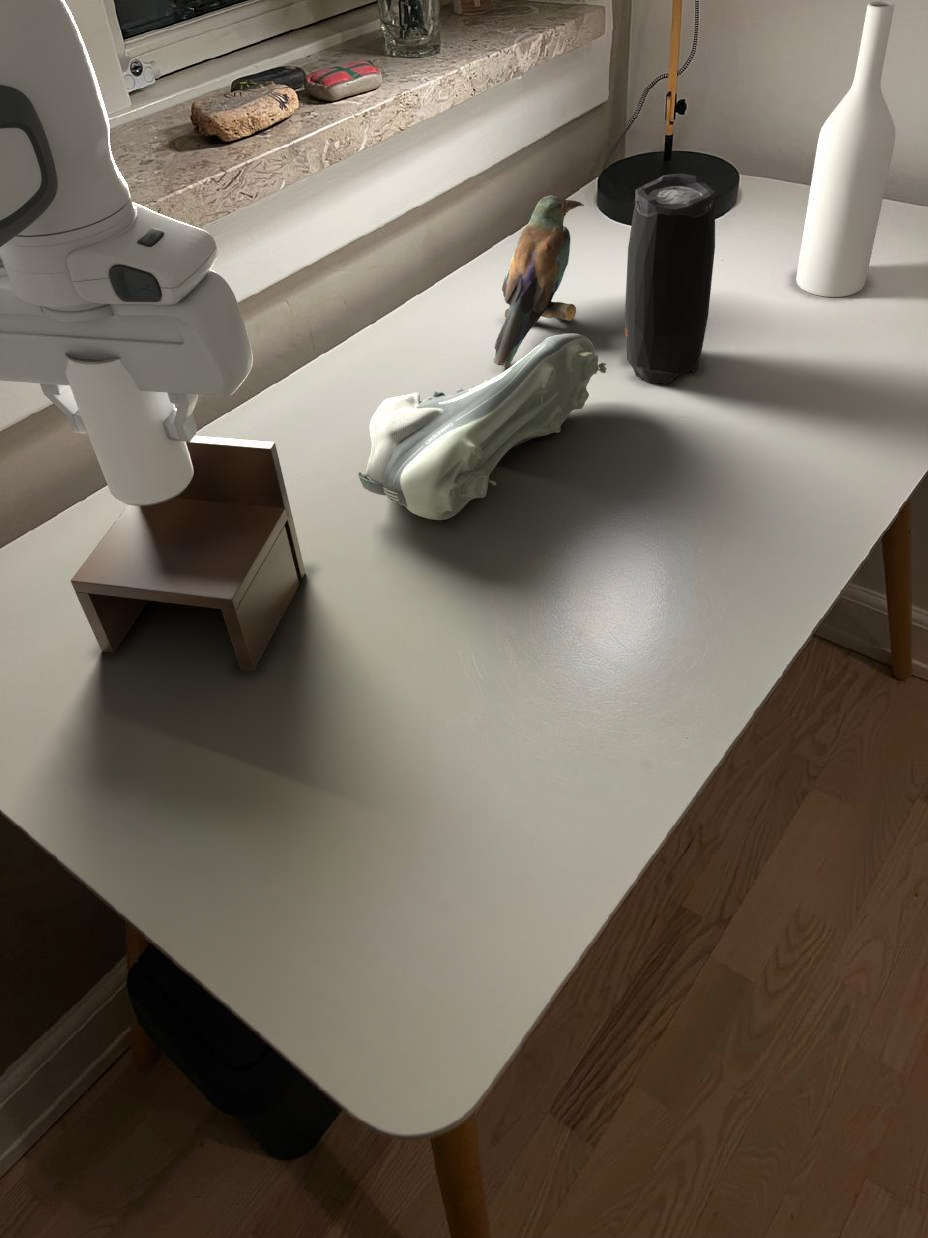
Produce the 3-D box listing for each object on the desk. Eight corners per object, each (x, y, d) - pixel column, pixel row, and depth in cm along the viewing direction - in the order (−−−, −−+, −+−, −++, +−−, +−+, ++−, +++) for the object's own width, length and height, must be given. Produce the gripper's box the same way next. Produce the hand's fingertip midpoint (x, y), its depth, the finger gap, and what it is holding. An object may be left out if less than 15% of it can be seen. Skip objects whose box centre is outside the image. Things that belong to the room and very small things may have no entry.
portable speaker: (616, 384, 112) (622, 204, 99) (633, 342, 118) (640, 168, 105) (696, 391, 110) (713, 209, 96) (708, 348, 116) (726, 171, 103)
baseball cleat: (619, 315, 103) (494, 281, 110) (443, 456, 87) (310, 405, 94) (615, 403, 110) (497, 366, 117) (451, 549, 94) (326, 495, 101)
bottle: (873, 274, 126) (932, -5, 106) (853, 302, 121) (912, 17, 101) (807, 262, 130) (852, -10, 109) (786, 290, 125) (829, 11, 104)
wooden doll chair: (101, 651, 87) (43, 521, 78) (165, 556, 96) (120, 429, 86) (253, 671, 84) (213, 539, 75) (305, 572, 93) (275, 441, 83)
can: (212, 478, 79) (170, 336, 71) (141, 519, 76) (89, 375, 68) (163, 449, 82) (119, 310, 74) (94, 487, 79) (39, 346, 71)
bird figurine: (545, 374, 113) (576, 180, 108) (464, 361, 117) (491, 173, 112) (582, 379, 125) (612, 204, 120) (508, 367, 129) (534, 197, 124)
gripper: (-93, 267, 66) (-10, 446, 76) (196, 280, 62) (246, 468, 72) (-37, 226, 71) (35, 400, 80) (237, 235, 66) (278, 419, 76)
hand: (136, 433), depth 76 cm, fingers closed on can, 6 cm apart
